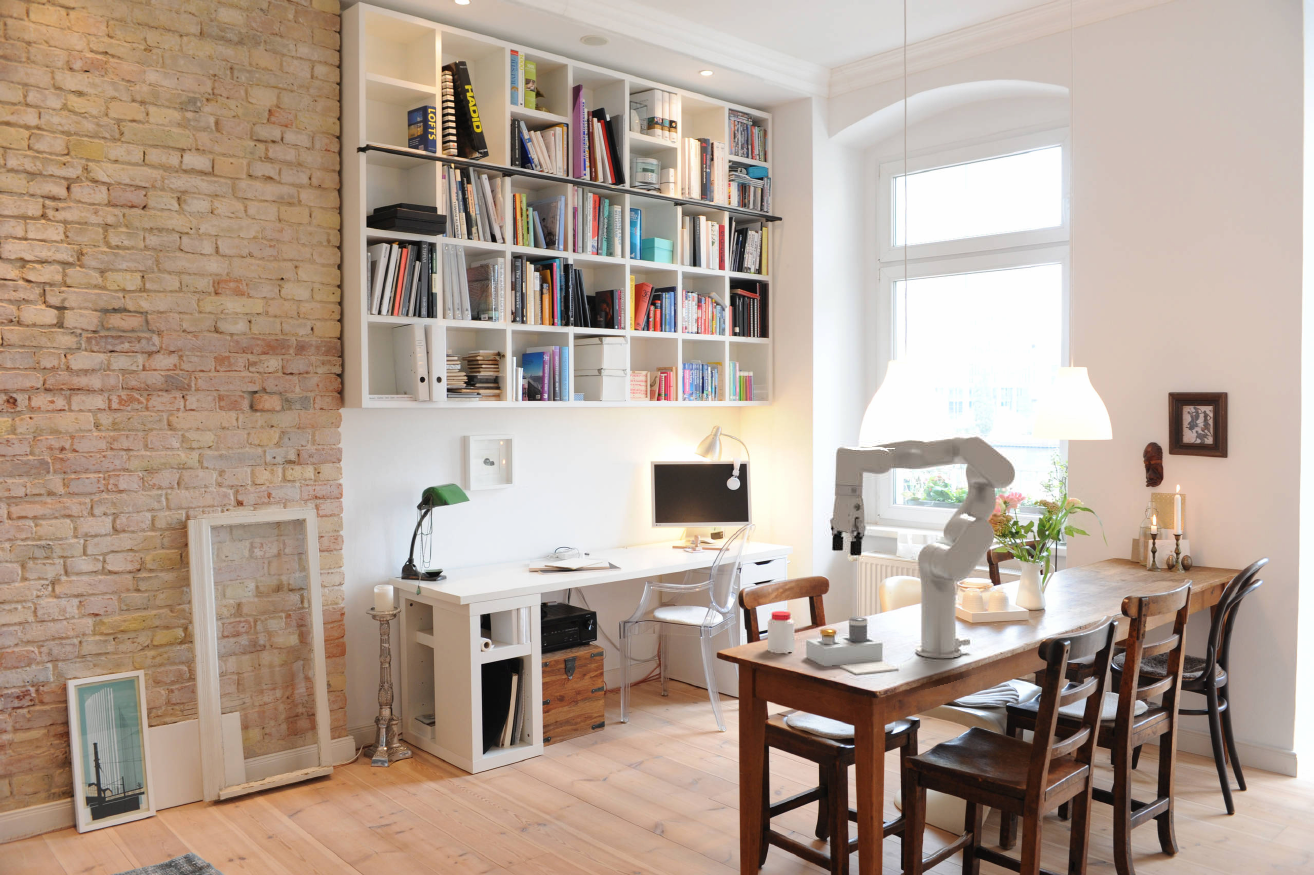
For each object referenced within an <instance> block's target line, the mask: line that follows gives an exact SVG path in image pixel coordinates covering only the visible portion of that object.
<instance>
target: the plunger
mask: <svg viewBox="0 0 1314 875" xmlns="http://www.w3.org/2000/svg"><path fill="white" fill-rule="evenodd" d="M819 631H820V632H819V633H820V635H821V638H822V645H824V646H826V645H835V637H836V635H837V630H836V629H834V628H821V629H820V630H819Z"/></svg>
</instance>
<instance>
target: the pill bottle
mask: <svg viewBox="0 0 1314 875" xmlns="http://www.w3.org/2000/svg"><path fill="white" fill-rule="evenodd" d="M794 650H796V649H795V621H794V620H793V619H792V618H791V612H789V611H785V610H784V611H783V610H779V611H778V610H776V611H772V612H771V618H770V619H768V621H767V651H768V652H769V651H770V653H772V652H775V653H774V654H780V653H785V654H788V653H787V652H792V651H794ZM794 652H795V651H794ZM792 653H793V652H792Z"/></svg>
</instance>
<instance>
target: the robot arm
mask: <svg viewBox="0 0 1314 875" xmlns="http://www.w3.org/2000/svg"><path fill="white" fill-rule="evenodd" d="M886 448H895V449H886ZM835 454H836V455H835V460H836V461H835V480H834V481H835V482H834V483H835V484H834V503H833V513H832V518H831V519H830V520H829V523H830V530H831V536H832V541H831V542H832V543H831V544H832V547H831V550H832V551H834V552H835V551H836V552H837V551H839V552H840V551H844V536H843V534H844V533H846V534H849V535H850V538H851V540H850V546H849V547H850V549H849V555H850V556H854V557H855V556H861V555H862V549H863V548H862V546H863V545H862V544H863V541H864V537H865V532H866V529H867V526H866V525H865V523H866V522H865V505H864V498H863V488H864V487H863V486H864V484H863V483H864V473H865V474H866V473H867V474H871V475H872V474H873V475H883V474H887V473H888V472H889V471H890V470H891V469H905V470H906V469H909V470H922V469H923V470H925V469H930V468H936V467H943V466H944V467H945V466H950V465H951V466H952V465H966V467H965V477H966V481H967V482H966V483H967V488H968V489H967V493H966V494H967V495H966V497H965V498H964V500H963V501H962V503H961V505H960V506H959V507H958V509H956V511H955V512H954V514H953V515H952V516H951V517H950V519H948V521H947V523H946V524H945V526H944V529H943V537H944V540H945V541H946V542H947V543H948V544H950V545H947V544H943V543H938V542H934V543H933V542H932V543H929V544H925V546H923V547H922V548H921V550H920V551H919V553H918V557H917V565H918V572H919V578H920V588H921V590H920V593H921V594H920V597H921V600H920V601H921V602H920V603H921V604H920V610H921V613H920V615H921V616H920V619H921V620H920V624H921V626H920V630H921V631H920V632H921V633H920V634H921V635H920V640H921V641H920V643H921V645H918V646H916V647H915V653H916V654H917V655H918V656H923V657H925V658H926V657H927V658H931V659H955V658H958V657H960V656H961V655H962V650H961V649H960V648H961V647H964V646H965V647H966V646H969V645H971V640H970V638H962V639H961V638H960V637H957V635H956V632H957V629H956V620H957V619H956V618H957V617H956V616H957V614H956V611H957V610H956V608H957V607H956V606H957V605H956V604H957V602H956V601H957V599H956V598H957V597H956V596H957V594H956V591H957V590H956V585H955V583H957V582H962V581H964V580H966V579H967V578H968V577H969V576H970V575H971V574H972V573H973V571H974V570H975V569H976V567H977V566H978V565H979V563H980V562H981V561H982V560H983V558H984V557H985V555H987V553H988V552H989V550H990V548H991V547H992V545H993V543H994V538H995V530H994V526H993V525H992V524H991V523H990V521H989V519H990V518H991V516H992V514H993V513H994V511H995V509H996V505H997V497H996V495H997V494H996V489H997V490H998V489H999V490H1000V489H1005V488H1007V487H1010V485H1011V484H1013V483H1014V480H1015V477H1016V472H1015V471H1016V470H1015V468H1014V466H1013V464H1012V462H1010V460H1008V458H1006V457H1005V456H1004V455H1003V454H1001V453H1000V452H999V451H998V450H996V449H995V448H994V447H993V446H991V445H990V444H989V443H988V442H986V441H985V440H984V439H982V438H980V437H979V436H977V435H975V434H962V433H959V434H958V433H955V434H947V435H946V434H945V435H939V436H932V437H923V438H916V439H907V440H902V441H893V442H884V443H876V444H870V445H862V446H860V447H857V446H856V447H855V446H841V447H839V448H837V449H836V453H835ZM954 657H955V658H954Z"/></svg>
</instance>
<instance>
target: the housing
mask: <svg viewBox="0 0 1314 875" xmlns="http://www.w3.org/2000/svg"><path fill="white" fill-rule="evenodd" d="M805 640H806V643H805V646H806V647H805V648H806V654H805V657H806V656H807V657H808V658H807V657H806V658H807V659H809V658H810V659H809V660H811V659H812V660H811V661H813V660H814V661H813V662H815V661H816V662H815V663H817V662H818V663H817V664H819V663H820V664H819V665H821V664H822V665H821V666H823V665H824V666H823V667H825V666H826V667H833V666H832V665H836V666H840V665H844V664H845V665H848V664H858V663H867V662H877V661H883V642H881V641H880V640H879V641H878V640H877V639H874V638H872V637H869V636H867V642H864V643H852V642H849V635H845V636H843V635H842V636H841V635H840V636H835V645H826V646H824V645H822V637H821V638H812V639H811V638H810V639H805Z"/></svg>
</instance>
